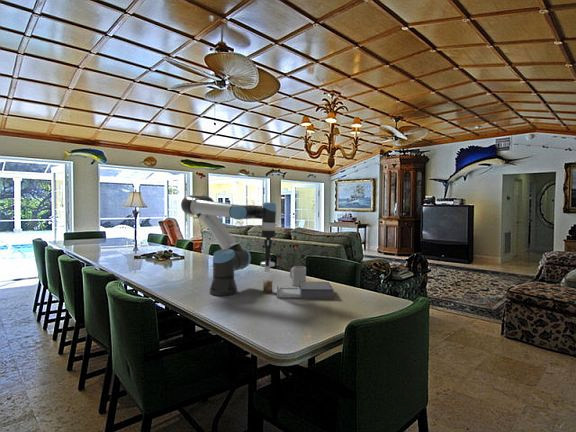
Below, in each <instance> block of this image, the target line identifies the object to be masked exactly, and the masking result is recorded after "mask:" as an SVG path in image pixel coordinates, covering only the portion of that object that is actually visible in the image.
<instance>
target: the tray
mask: <svg viewBox="0 0 576 432" xmlns="http://www.w3.org/2000/svg"><path fill="white" fill-rule="evenodd" d="M279 285H280V284H279V282H277V283H276V298H300V299H301V289H300V288H299V287H297V286H292V287H289V286H288V287H287V286H285V287H284V286H283V287H282V286H281V287H280V286H279Z"/></svg>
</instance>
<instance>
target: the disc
mask: <svg viewBox="0 0 576 432" xmlns="http://www.w3.org/2000/svg"><path fill="white" fill-rule="evenodd" d="M275 266H276V263H275V262H274V261H270V268H272V267H275ZM260 267H263V268H265V261H261V262H260Z"/></svg>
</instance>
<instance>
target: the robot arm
mask: <svg viewBox="0 0 576 432" xmlns="http://www.w3.org/2000/svg"><path fill="white" fill-rule="evenodd" d="M180 207H181V210H182V212H183V213H185V214H187V215H191V216H193V215H195V216H196V217H197V218H198V220H199V221H202V222H204V224H205V226H206V227H207V228H208V230H209V232H210V233H211V235H212V236H213V237H214V239H215V241H216V242H217V244H218V245H219V246H220V248H221V249H219V250H216V251H214V253H213V256H212V262H213V263H212V281H211V284H210V287H209V294H210V295H212V296H217V297H220V296H221V297H225V296H226V297H227V296H233V295H236V294H237V293H238V286H237V283H236V280H235V272H237V271H240V270H244V269H246V268H247V267H249V265H250V263H251V261H252V257H251V256H252V255H251V254H250V251H249V250H248V249H247V248H243V247H242V246H241V244H240V243H239V242H236V241H235V240H234V238H233V237H232V235H231V234H230V232H228V230H227V229H226V227H225V225H224V224H223V222H222V220H221V219H220V218H219V217H222V218H223V217H224V218H230V219H231V218H232V219H234V220H240V221H241V220H253V219H255V220H256V219H257V220H261V229H262V230H261V237H262V238H265V240H264V248H265V254H264V255H265V256H264V258H263V261H264V262H265V267H264V272H265V273H271V272H270V271H271V267H270V262H271V258H272V255H271V249H272V244H273V240H272V239H271V238H276V227H277V226H278V225H277V222H276V220H277V219H276V217H277V205H276V203H275V202H262V205H255V204H254V205H252V204H248V205H245V204H244V205H243V204H233V203H228V202H227V203H225V202H219V201H218V202H217V201H214V199H213V198H211V197H210V196H206V195H193V194H192V195H186V196H185V197H184V198H183V199H182V200H181V203H180Z"/></svg>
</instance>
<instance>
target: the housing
mask: <svg viewBox="0 0 576 432" xmlns="http://www.w3.org/2000/svg"><path fill="white" fill-rule="evenodd" d="M299 288H300V289H301V298H300V299H303V300H305V299H306V300H307V299H308V300H309V299H310V300H311V299H312V300H316V299H317V300H323V299H324V300H334V288H333V286H332V285H331V284H330V282H329V281H306V282H299Z"/></svg>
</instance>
